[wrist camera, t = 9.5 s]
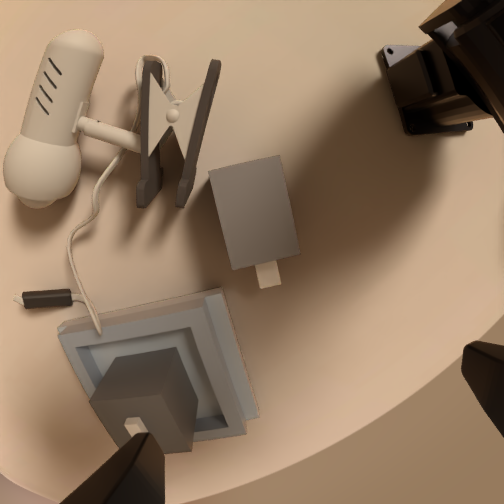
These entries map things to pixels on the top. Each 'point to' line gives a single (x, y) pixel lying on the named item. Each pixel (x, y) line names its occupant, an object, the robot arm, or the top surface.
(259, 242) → the cable plug
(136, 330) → the blue gray tray
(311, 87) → the top surface
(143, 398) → the brick
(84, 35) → the clip-on lamp
